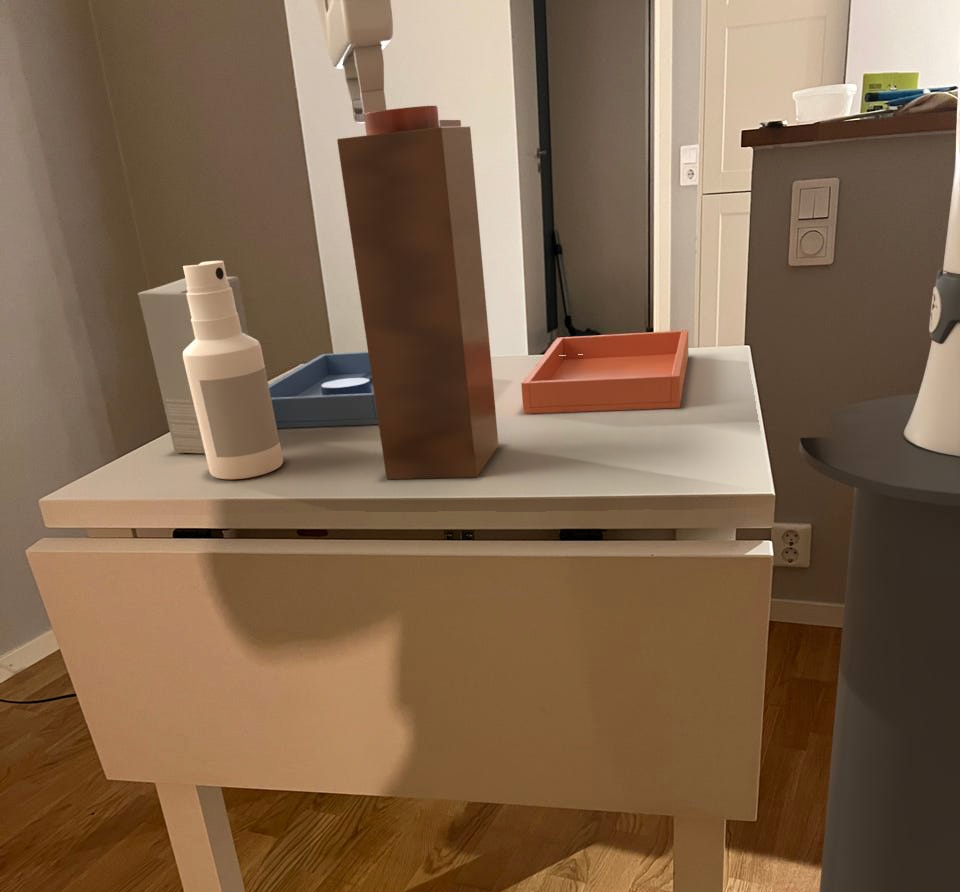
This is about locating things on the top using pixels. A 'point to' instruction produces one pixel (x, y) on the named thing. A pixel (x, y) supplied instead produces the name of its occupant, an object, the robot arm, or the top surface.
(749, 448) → the top surface
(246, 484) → the top surface
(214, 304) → the spray bottle
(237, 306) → the cosmetic box
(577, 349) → the terracotta tray
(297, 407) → the blue tray
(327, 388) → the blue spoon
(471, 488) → the top surface
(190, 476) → the top surface
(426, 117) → the terracotta spoon
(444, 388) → the tall brown block
